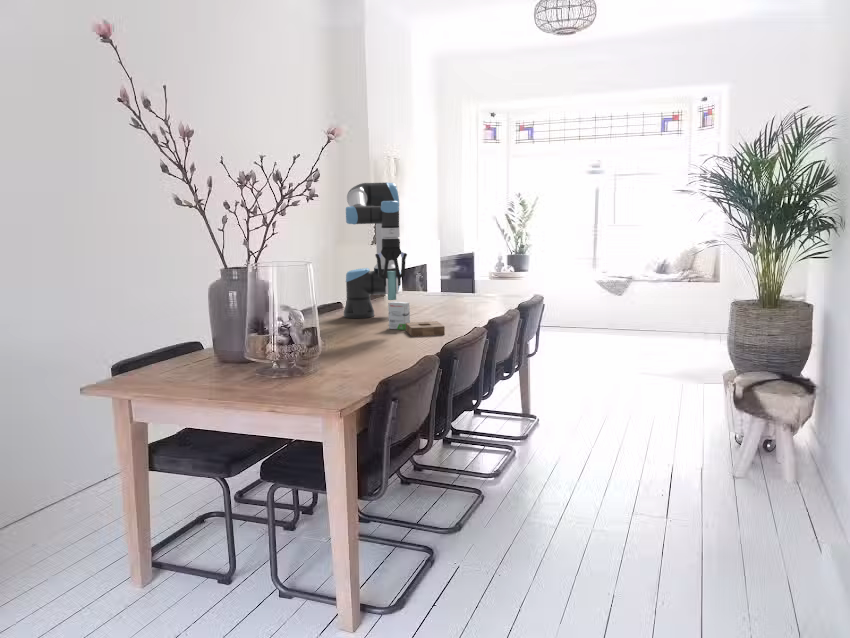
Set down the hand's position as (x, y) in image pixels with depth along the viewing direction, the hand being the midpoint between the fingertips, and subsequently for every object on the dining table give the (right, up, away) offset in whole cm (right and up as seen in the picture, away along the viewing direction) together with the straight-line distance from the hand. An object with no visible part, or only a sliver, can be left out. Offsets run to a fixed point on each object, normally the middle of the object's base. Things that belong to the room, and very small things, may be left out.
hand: (392, 293), depth 299 cm
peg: (0, -3, 0) cm, 2 cm away
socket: (+14, -17, +2) cm, 22 cm away
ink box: (+3, -15, +13) cm, 21 cm away
